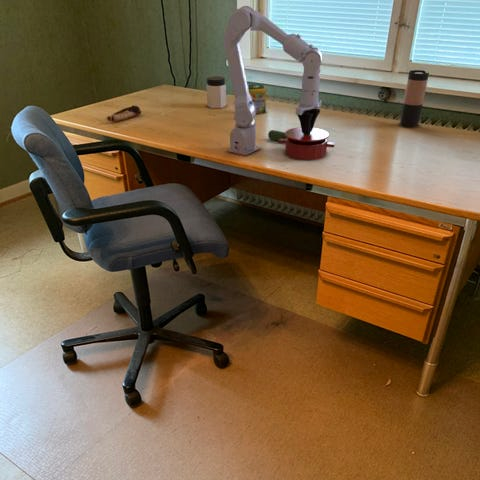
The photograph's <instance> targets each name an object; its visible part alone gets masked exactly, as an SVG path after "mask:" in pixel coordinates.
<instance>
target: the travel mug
mask: <svg viewBox="0 0 480 480" xmlns="http://www.w3.org/2000/svg"><path fill="white" fill-rule="evenodd" d="M407 75H408V76H407V81H406V86H405V92H404V96H403V101H402V107H401V114H400V121H399V126H401V127H403V128H412V129H413V128H416V127H418V125H419V122H420V118H421V114H422V109H423V106H424V100H425V96H426V95H425V94H426V89H427V85H428V82H429V81H428V80H429V76H430V72H426V71H425V70H422V69H413V70H409V71H408V74H407Z"/></svg>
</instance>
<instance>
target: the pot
mask: <svg viewBox="0 0 480 480" xmlns="http://www.w3.org/2000/svg"><path fill="white" fill-rule="evenodd" d="M277 143H278V144H284V146H285V147H284V152H285V155H286V156H287V157H289V158H291V159H294V160H298V161H315V160H320V159H322V158H324V157H325V156H327V155H326V154H327V150H328V149H327V148H334V147H335V145H336V142H334V141H328V138H327V139H325V140H322V141H316V142H301V141H295V140H292V139H289V138H286V139H281V138H280V139H279V140H278V141H277Z"/></svg>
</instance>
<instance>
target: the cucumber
mask: <svg viewBox="0 0 480 480" xmlns="http://www.w3.org/2000/svg"><path fill="white" fill-rule="evenodd" d="M285 132H286V131H285ZM285 132H284V131H281V130H280V131H279V130H274V129H271V130H269V131H268V134H267V136H268V138H269V139H270V140H272V141H277V142H278V140H279V139H280V138H281V139H286V138H287V137H286V136H285Z"/></svg>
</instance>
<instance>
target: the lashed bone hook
mask: <svg viewBox="0 0 480 480" xmlns="http://www.w3.org/2000/svg"><path fill="white" fill-rule="evenodd" d="M141 114H142V109H141V108H140V107H139V106H138V105H134V104H133V105H131V106H128V107H124V108H122V109H119V110H117V111H116V112H114V113H113V114H111V115H108V116H107V117H106V118H107V121H109V122H119V121H126V120H128V119H132V118H135V117H137V116H139V115H141Z"/></svg>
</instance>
